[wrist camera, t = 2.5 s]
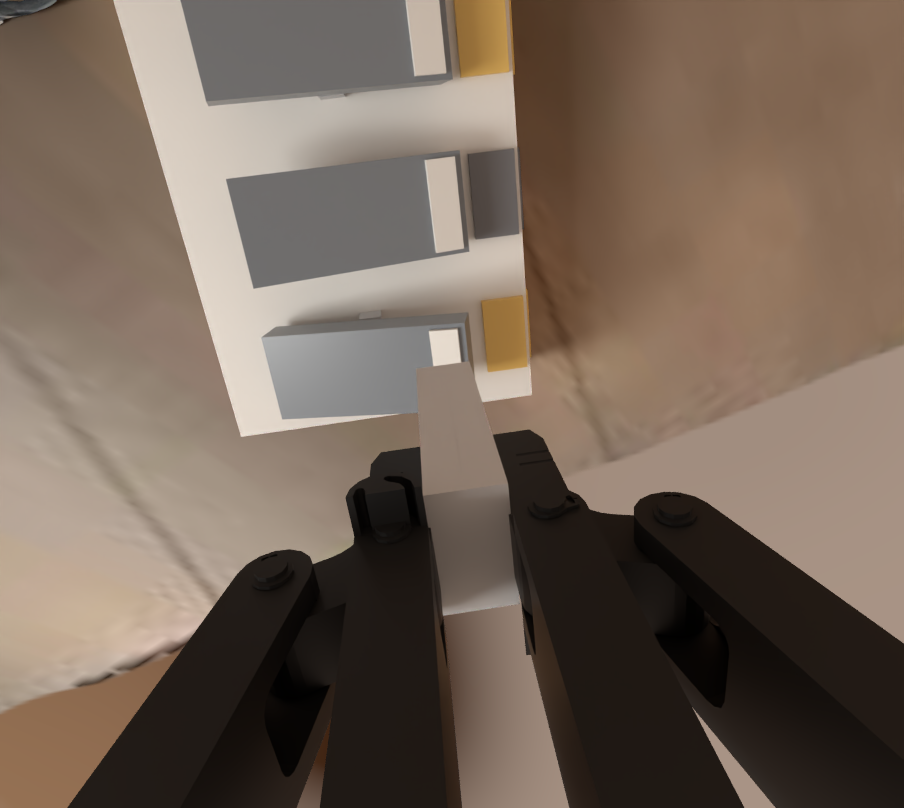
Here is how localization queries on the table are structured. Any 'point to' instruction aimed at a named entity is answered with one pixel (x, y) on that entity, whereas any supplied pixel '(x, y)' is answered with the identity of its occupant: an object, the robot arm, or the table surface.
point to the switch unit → (335, 143)
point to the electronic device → (21, 7)
